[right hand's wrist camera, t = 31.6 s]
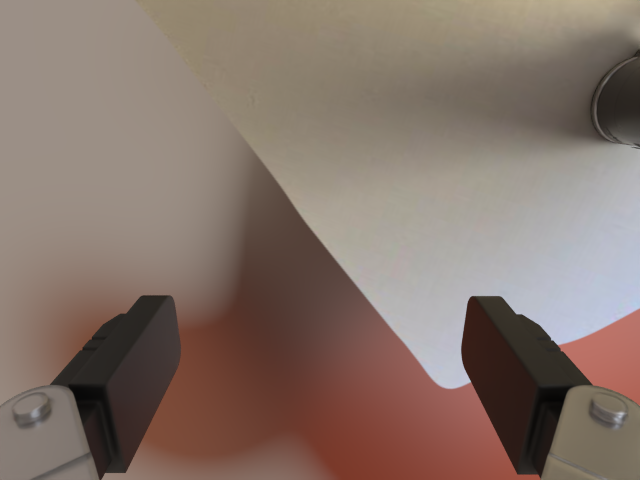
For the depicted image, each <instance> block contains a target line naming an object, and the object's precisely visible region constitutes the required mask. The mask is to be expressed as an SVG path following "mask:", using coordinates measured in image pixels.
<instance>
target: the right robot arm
mask: <svg viewBox="0 0 640 480" xmlns="http://www.w3.org/2000/svg"><path fill="white" fill-rule="evenodd" d="M591 116H592V121H593V124H594V126H595V128H596V130H597V131H598V133H599V134H600V135H601V136H602V137H604V138H605V139H607V140H609V141H612V142H615V143H620V144H627V145H634V146H638V147H640V49H639V51H638V52H637V53H636V55H635V56H634V57H633V58H630V59H627V60H625V61H623V62H621V63H620V64H618V65H617V66H615V67H614V68H613V69H612V70H610V71H609V72H608V73H607V75H606V76H605V77H604V78H603V79H602V81H601V82H600V84H599V85H598V87H597V89H596V91H595V94H594V97H593V100H592V106H591ZM632 148H636V147H632ZM637 149H640V148H637ZM180 354H181V344H180V337H179V330H178V323H177V316H176V309H175V303H174V300H173V298H172V296H141V297H140V298H139V299H138V300H137V301H136V303H135V304H134V305H133V306H132V307H131V309H130V310H129V311H128V312H127V313H126V314H119V315H118V316H116V317H114V318H113V319H111V320H110V321H108V322H106V323H105V324H103V325H102V326H101V327H100V329H99V330H98V331H97V332H96V333H95V334H94V335H93V337H92V340H89V341H88V342H87V343H86V344H85V346H84V347H83V350H81V351H79V352H78V353H77V355H76V356H75V357H74V358H73V359H72V360H71V361H70V363H69V364H68V365H67V366H66V367H65V368H64V369H63V370H62V372H61V373H60V374H59V375H58V376H57V377H56V378H55V379H54V381H53V382H52V383H51V384H50V385H47V386H41V387H37V388H34V389H30V390H27V391H25V392H22V393H20V394H18V395H16V396H14V397H12V398H11V399H9V400H8V401H6V402H5V403H3V404H2V405H1V406H0V480H101V479H102V478H103V476H104V474H105V473H126V471H127V469H128V467H129V465H130V463H131V461H132V459H133V457H134V455H135V453H136V451H137V449H138V447H139V445H140V443H141V441H142V439H143V437H144V435H145V433H146V431H147V429H148V427H149V425H150V423H151V420H152V418H153V416H154V414H155V412H156V410H157V408H158V406H159V404H160V402H161V400H162V398H163V396H164V394H165V392H166V390H167V388H168V386H169V384H170V382H171V380H172V378H173V376H174V374H175V372H176V370H177V368H178V365H179V361H180ZM461 354H462V361H463V365H464V368H465V370H466V372H467V374H468V376H469V378H470V380H471V382H472V384H473V386H474V388H475V390H476V392H477V394H478V396H479V398H480V400H481V402H482V404H483V406H484V408H485V410H486V412H487V414H488V416H489V418H490V420H491V422H492V424H493V426H494V428H495V430H496V432H497V434H498V436H499V438H500V440H501V442H502V444H503V446H504V448H505V450H506V452H507V454H508V456H509V458H510V460H511V462H512V464H513V466H514V468H515V470H516V472H517V474H538V475H539V477H540V478H541V480H640V406H639V405H638V404H637V403H635V402H634V401H632V400H631V399H629V398H628V397H626V396H624V395H622V394H620V393H618V392H615V391H613V390H610V389H607V388H603V387H599V386H593V385H592V384H591V382H590V381H589V380H588V379H587V378H586V377H585V376H584V375H583V373H582V372H581V371H580V370H579V369H578V368H577V367H576V366H575V364H574V363H573V362H572V361H571V360H570V359H569V358H568V357H567V356H566V354H565V353H564V352H562V351H560V348H559V347H558V345H557V344H556V343H555V342H554V341H551V338H550V336H549V335H548V334H547V333H546V332H545V331H544V330H543V329H542V327H541V326H540V325H538V324H537V323H535V322H533V321H532V320H530V319H529V318H527V317H525V316H524V315H522V314H516V313H515V312H514V311H513V310H512V309H511V307H510V306H509V305H508V304H507V303H506V301H505V300H504V299H503V298H502V297H500V296H472V297H470V299H469V301H468V305H467V311H466V318H465V325H464V332H463V338H462V346H461Z"/></svg>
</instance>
